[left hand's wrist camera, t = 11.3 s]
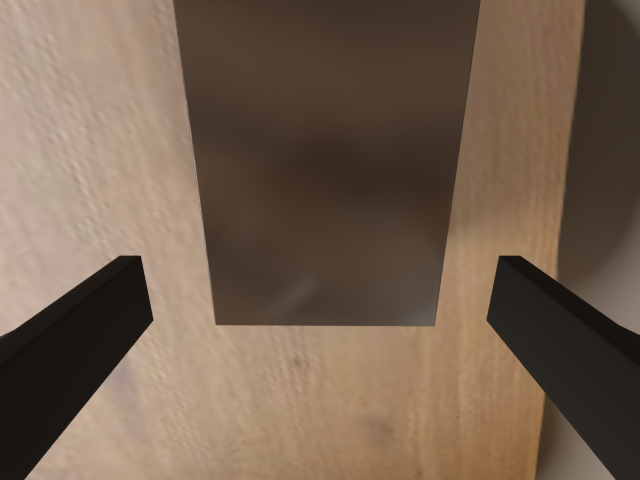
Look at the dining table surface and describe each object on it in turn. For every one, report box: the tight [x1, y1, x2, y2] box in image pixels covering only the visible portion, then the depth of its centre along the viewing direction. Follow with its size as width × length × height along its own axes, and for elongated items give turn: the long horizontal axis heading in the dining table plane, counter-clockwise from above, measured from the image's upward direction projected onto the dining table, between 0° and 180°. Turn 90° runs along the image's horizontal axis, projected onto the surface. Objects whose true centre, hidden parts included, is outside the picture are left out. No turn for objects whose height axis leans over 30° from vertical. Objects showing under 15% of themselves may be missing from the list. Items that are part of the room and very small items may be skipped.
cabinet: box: [173, 0, 480, 326], centre depth 17 cm, size 17×10×9 cm, turn 0°
